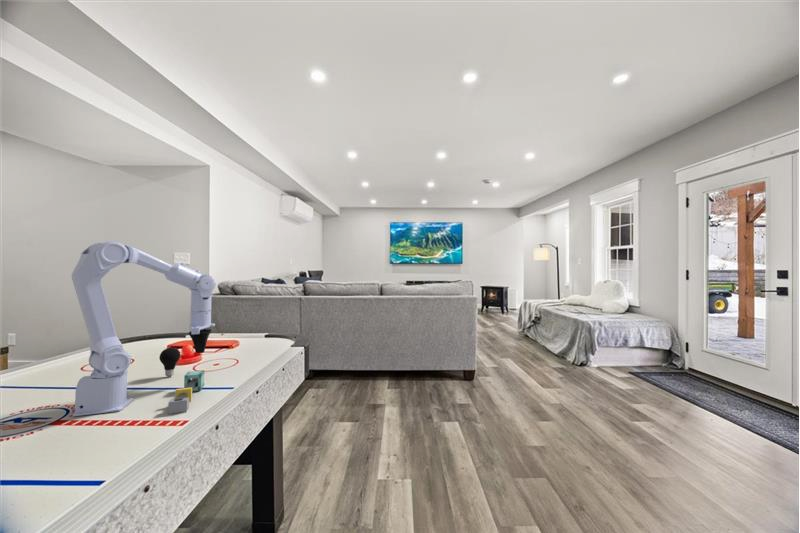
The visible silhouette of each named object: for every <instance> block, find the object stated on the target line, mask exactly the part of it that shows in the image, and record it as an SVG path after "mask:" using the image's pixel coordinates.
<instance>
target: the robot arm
mask: <svg viewBox="0 0 800 533" xmlns="http://www.w3.org/2000/svg"><path fill="white" fill-rule="evenodd" d="M122 264H134V265H135V264H136V265H138V266H141V267H144V268H146V269H149V270H153V271H155V272H157V273H158V272H159V273H161V274H164V276H165V278H166V280H167V281H169V282H172V283H175V284H178V285H180V286H182V287H185V288H188V290H190V291H191V292H190V293H191V294H190V295H191V296H190V319H189V320H190V322H189V323H190V324H189V329H191V331H189V332H188V335H189V337H190V339H191V341H192V343H193V347H194V351H195V354H204V353H205V350H206V346H207V343H208V339H209V336H210V334H211V333H212V327H215V326H216V323H212V298H213V297H212V294H213V290H214V289H215V288H216V286H217V285H216V282H215V279H214V278H213V277H212V276H211V275H209V274H202V273H201V271H200V270H194V269H192V268H190V267H187V264H186V263H183V262H182V263H178V262H176V263H172V264H170V263H168V262H166V261H163V260H161V259H159V258H157V257H155V256H153V255H151V254H148V253H147V252H144V251H142V250H140V249H138V248H135V247H133V246H132V245H131V246H130V245H127V244H126V245H124V244H123V243H122V242H119V241H115V240H110V241H105V242H96V243H93V244H90V245H89V246H88V247H87V248H86V249H84V250H83V251H81V254H80V258H79V260H78V262H77V264H76V266H75V267H74V269H73V271H72V273H71V280H72V283H73V287H74V290H75V294H76V297H77V300H78V302H79V306H80V309H81V310H80V311H81V313H82V317H83V320H84V323H85V327H86V331H87V333H88V336H89V340H90V343H89V351H90V353H89V354H90V355H89V357H88V365H89V366H90V367H91V368H92V369H93V370H92V372H91V373H90V375H85V376H82V377H80V379H79V380H78V381H77V384H76V387H75V394H74V396H75V398H74V399H75V400H74V401H75V402H74V413H73V414H72V417H80V416H88V415H89V416H90V415H96V414H104V413H105V414H106V413H114V412H120V411H122V410H123V409H125V407H126V406H127V405H129V404H130V403H131V402H132V401H133V400H134V398H133V397H129V398H128V396H127V393H128V368H129V367H130V365H131V362H132V357H131V355H130V354H129V353H128V352H127V351H125V349H124V347H123V344H122V342H121V341H120V339H119V338H118V336H117V332H116V329H115V325H114V322H113V319H112V318H113V317H112V315H111V311H110V308H109V304H108V300H107V297H106V294H105V290H104V286H103V284H102V281H101V280H102V278H104V277H105V276H106V275H107V274H108V273H109V272H110V271H111V270H113V269H114V268H116V267H118V266H120V265H122ZM210 327H211V329H210Z"/></svg>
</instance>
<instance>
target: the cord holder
mask: <svg viewBox="0 0 800 533" xmlns="http://www.w3.org/2000/svg"><path fill="white" fill-rule="evenodd" d="M197 384H198V378H191V381H190V382H189V383H188V384H187V386H186V387H185V388H184V387H182V388H176V389H175V397H174V398H173V399H170V400H169V401H168V407H167V409H168V411H167V415H173V413H174V414H180V413H179V412H182V413H185V412H184V411H187V410H188V411H189V408H190V403H191V402H192V401H193V392H194V391H193V389H194V388H195V387H196V385H197ZM188 411H187V412H188Z"/></svg>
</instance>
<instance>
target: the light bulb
mask: <svg viewBox="0 0 800 533" xmlns="http://www.w3.org/2000/svg"><path fill="white" fill-rule="evenodd" d="M180 358H181V352H180V350H179V349H177V348H176V347H167V348H165V349H163V350H162V351H161V353H160V354H159V361H160V363H161V364H162V365H163V369H164V371H165V372H164V373H165V376H166V377H168V378H171V377H172V376H173V375H174V374H175V368H176V365H177V364H178V363H177V362H178V361H179V360H180Z"/></svg>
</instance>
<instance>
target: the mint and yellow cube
mask: <svg viewBox="0 0 800 533" xmlns="http://www.w3.org/2000/svg"><path fill="white" fill-rule="evenodd" d="M192 378H198V384H197V385H196V387H195V388H194V389H193V391H192V392H196V391H202V389H203V387H205V370H193V371H187V372H186V374H185V375H184V379H183V380H184V381H183V384H184V385H183V388H185V387H186V386H187V384H188V383H189V382H190V381H191V379H192Z"/></svg>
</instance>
